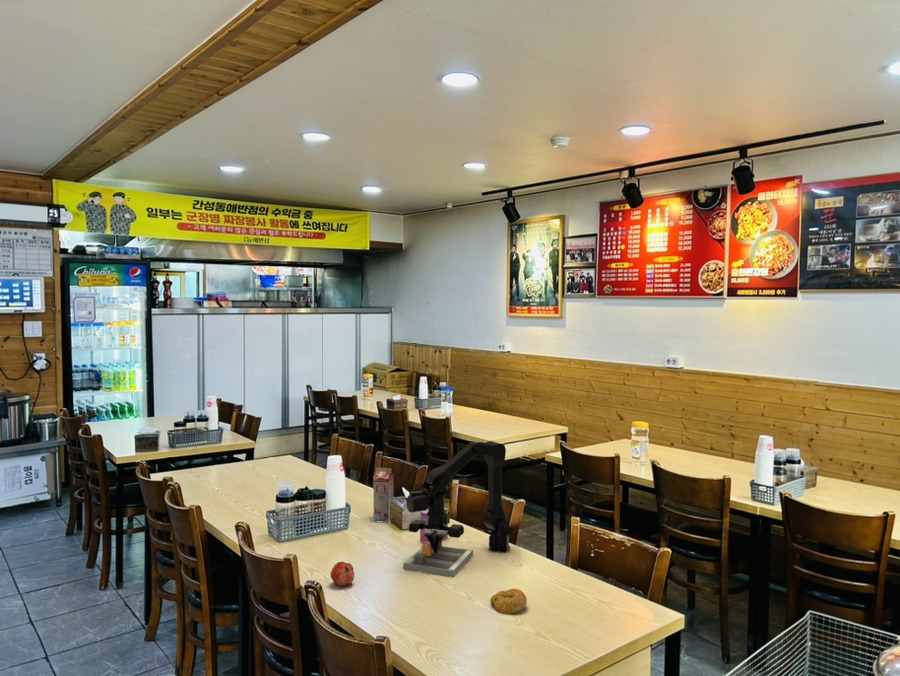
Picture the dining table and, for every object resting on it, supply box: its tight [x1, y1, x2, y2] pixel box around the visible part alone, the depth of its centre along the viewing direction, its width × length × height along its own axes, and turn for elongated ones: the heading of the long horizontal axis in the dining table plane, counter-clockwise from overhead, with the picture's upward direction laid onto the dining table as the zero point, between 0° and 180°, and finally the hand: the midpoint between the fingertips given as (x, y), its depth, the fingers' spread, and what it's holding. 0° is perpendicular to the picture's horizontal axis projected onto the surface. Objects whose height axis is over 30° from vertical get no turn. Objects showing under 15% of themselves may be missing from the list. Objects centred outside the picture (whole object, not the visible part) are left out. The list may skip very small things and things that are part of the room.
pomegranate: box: [330, 561, 355, 587], centre depth 203 cm, size 7×7×10 cm
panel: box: [402, 540, 474, 578], centre depth 221 cm, size 18×20×4 cm
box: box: [419, 506, 449, 544], centre depth 243 cm, size 10×6×12 cm, turn 143°
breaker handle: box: [421, 542, 434, 557], centre depth 222 cm, size 3×4×4 cm
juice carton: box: [373, 467, 395, 523], centre depth 267 cm, size 7×7×22 cm
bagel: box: [489, 588, 528, 615], centre depth 187 cm, size 10×11×5 cm
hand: (436, 552), depth 221 cm, fingers closed
